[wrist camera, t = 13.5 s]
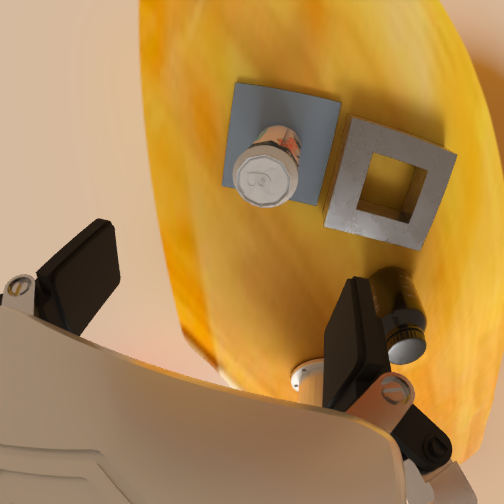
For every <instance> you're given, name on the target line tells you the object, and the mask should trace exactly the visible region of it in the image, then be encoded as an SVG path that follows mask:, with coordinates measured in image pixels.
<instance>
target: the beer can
mask: <svg viewBox="0 0 504 504" xmlns="http://www.w3.org/2000/svg"><path fill="white" fill-rule="evenodd" d="M300 153H301V141H300V139H299V137H298V136H297V134H296V133H295V132H294V131H293V130H291V129H290V128H288V127H286V126H282V125H275V126H270V127H268V128H266V129H264V130H263V131H262V132H261V133H260V135H259V136H258V138H257V139H256V140H255V141H254V142H253V143H252V145H251V146H250V147H249V148H248V149H247V150H246V151H244V152H243V153H242V154H241V155H240V156H239V157H238V159H237V161H236V162H235V164H234V168H233V183H234V186H235V188H236V190H237V191H238V193H239V194H240V196H241V197H242V198H243V199H244V200H245V201H247V202H249V203H251V204H252V205H255V206H258V207H260V208H261V207H263V208H271V207H275V206H279V205H281V204H283V203H285V202H286V201H287V200H288V199H290V198H291V197H292V195H293V194H294V192H295V190H296V188H297V184H298V167H299V158H300Z"/></svg>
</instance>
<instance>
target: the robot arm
mask: <svg viewBox="0 0 504 504" xmlns="http://www.w3.org/2000/svg"><path fill="white" fill-rule="evenodd" d="M36 274H37V277H38V278H37V279H36V280H34V278H33V277H32V276H30V275H27V274H24V275H18V276H16V277H14V278H12V279H11V280H10V281H9V282H8V283H7V284H6V285H5V288H4V293H3V294H0V504H406V498H407V500H408V503H409V504H477V498H476V495H475V493H474V491H473V490H472V488H471V486H470V484H469V482H468V480H467V479H466V477H465V475H464V474H463V472H462V470H461V468H460V467H459V465H458V463H457V461H454V462H452V460H451V458H450V457H451V455H452V444H451V442H450V439H449V438H448V436H447V435H446V434H445V433H444V432H443V431H442V430H441V429H440V428H438V427H437V426H436V425H435V424H434V423H433V422H432V421H431V420H430V419H429V418H428V417H427V416H426V415H424V414H423V413H422V412H421V411H420V410H419V409H418V408H417V407H416V406H415V405H414V404H413V401H414V398H415V392H414V388H413V386H412V384H411V382H410V381H409V380H408V379H407V378H406V377H404V376H403V375H401V374H399V373H395V372H391V366H390V360H389V354H388V348H387V342H386V337H385V332H384V326H383V321H382V318H381V317H380V316H376V311H375V306H374V301H373V296H372V291H371V287H370V282H369V279H366V278H362V277H357V276H354V277H353V278H352V279H347V281H346V283H345V286H344V288H343V290H342V293H341V295H340V298H339V300H338V302H337V304H336V307H335V309H334V311H333V314H332V316H331V318H330V320H329V322H328V325H327V327H326V330H325V334H324V358H320V359H314V360H310V361H307V362H305V363H302V364H301V365H299V366H298V367H297V368H295V369H294V371H293V372H292V375H291V384H292V386H293V388H294V389H295V390H296V391H297V392H298V398H297V402H292V401H287V400H282V399H277V398H272V397H268V396H263V395H259V394H254V393H250V392H245V391H241V390H237V389H233V388H229V387H225V386H221V385H217V384H213V383H209V382H206V381H202V380H199V379H196V378H192V377H189V376H185V375H182V374H179V373H175V372H172V371H169V370H166V369H163V368H160V367H157V366H154V365H151V364H148V363H145V362H142V361H140V360H137V359H134V358H131V357H129V356H126V355H123V354H121V353H118V352H116V351H113V350H110V349H108V348H105V347H103V346H100V345H98V344H95V343H93V342H91V341H88V340H86V339H84V338H81V337H79V336H80V335H81V333H82V332H83V331H84V329H85V328H86V327H87V325H88V324H89V322H90V321H91V320H92V318H93V317H94V316H95V315H96V313H97V312H98V311H99V309H100V308H101V307H102V305H103V304H104V303H105V301H106V300H107V299H108V298H109V296H110V295H111V294H112V292H113V291H114V290H115V289H116V287H117V286H118V285H119V283H120V271H119V263H118V255H117V246H116V237H115V228H114V226H113V225H112V223H111V222H110V221H108V220H104V219H99V218H98V219H96V220H95V221H94V222H92V223H91V224H90V225H89V226H87V227H86V228H85V229H84V230H83V231H81V232H80V233H79V234H78V235H77V236H75V237H74V238H73V239H72V240H71V241H70V242H69V243H67V244H66V245H65V246H64V247H63V248H62V249H61V250H59V251H58V252H57V253H56V254H55V255H54V256H53V257H52V258H51V259H50V260H48V262H46V263H45V264H44V265H43V266H42V267H41V268H40V269H39V270H38V271H37V272H36Z"/></svg>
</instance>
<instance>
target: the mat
mask: <svg viewBox="0 0 504 504" xmlns="http://www.w3.org/2000/svg"><path fill="white" fill-rule="evenodd" d="M340 107H341V102H337V101H333V100H329V99H325V98H320V97H316V96H312V95H307V94H302V93H298V92H293V91H287V90H282V89H276V88H270V87H264V86H258V85H251V84H243V83H235V89H234V96H233V103H232V110H231V118H230V125H229V132H228V140H227V148H226V156H225V164H224V172H223V181H222V186H224V187H230V188H235V186H234V183H233V168H234V164H235V162H236V161H237V159H238V157H239V156H240V155H241V154H242V153H243V152H244V151H246V150H247V149H248V148H249V147H250V146H251V145H252V143H253V142H254V141H255V140H256V139H257V138H258V136H259V135H260V133H261V132H262V131H263V130H264V129H266V128H268V127H270V126H275V125H282V126H286V127H288V128H290V129H291V130H293V131H294V132H295V133H296V134H297V136H298V137H299V139H300V141H301V153H300V158H299V167H298V184H297V188H296V190H295V192H294V194H293V195H292V197H291V198H290V199H288V200H292V201H297V202H301V203H306V204H310V205H314V206H317V202H318V198H319V194H320V191H321V187H322V183H323V179H324V175H325V171H326V167H327V163H328V159H329V155H330V151H331V146H332V142H333V138H334V134H335V129H336V125H337V120H338V116H339V112H340ZM235 189H236V188H235Z"/></svg>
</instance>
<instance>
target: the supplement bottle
mask: <svg viewBox="0 0 504 504" xmlns="http://www.w3.org/2000/svg"><path fill="white" fill-rule="evenodd" d="M369 282H370V287H371V291H372V296H373V301H374V306H375V311H376V316H380V317H381V318H382V321H383V326H384V332H385V337H386V342H387V348H388V354H389V360H390V362H391V363H393V364H396V365H402V364H408V363H411V362H413V361H415V360H417V359H418V358H419V357H421V356H422V355H423V354H424V352H425V350H426V346H427V345H426V341H425V336H424V332H425V329H426V326H427V318H426V315H425V312H424V309H423V306H422V304H421V301H420V299H419V296H418V294H417V291H416V289H415V286H414V284H413V282H412V280H411V277H410V276H409V274H408V273H407V272H406V271H404V270H403V269H400V268H396V267H389V268H385V269H382V270H380V271H378V272H376V273H375V274H374V275H373V276H372V277H371V278H370V280H369Z"/></svg>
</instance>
